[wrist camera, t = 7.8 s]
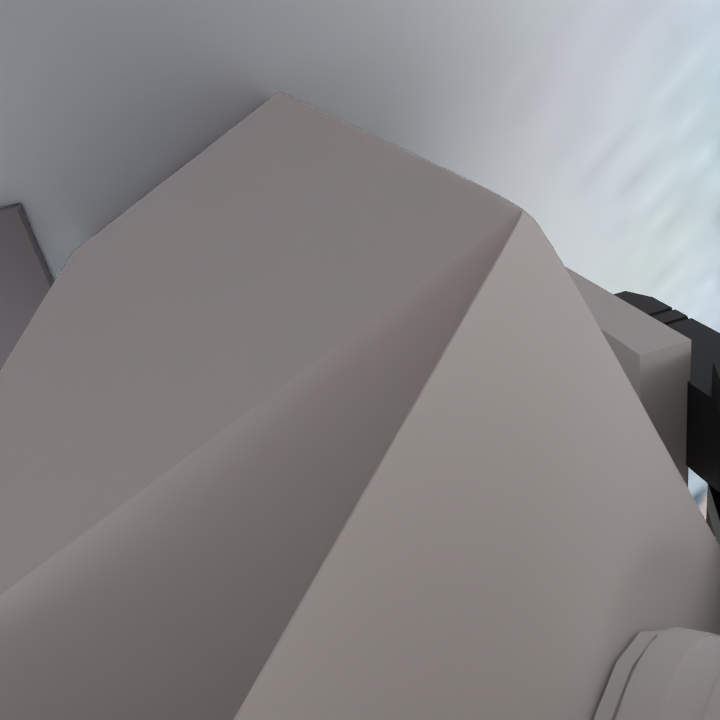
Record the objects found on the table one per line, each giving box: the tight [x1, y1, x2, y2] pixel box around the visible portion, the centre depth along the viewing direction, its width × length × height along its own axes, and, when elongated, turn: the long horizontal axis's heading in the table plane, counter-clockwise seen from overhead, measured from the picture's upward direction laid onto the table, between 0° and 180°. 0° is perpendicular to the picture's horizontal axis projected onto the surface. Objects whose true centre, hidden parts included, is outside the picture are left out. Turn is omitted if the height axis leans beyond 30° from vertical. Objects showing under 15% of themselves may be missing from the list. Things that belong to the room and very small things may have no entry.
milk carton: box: [0, 92, 720, 720], centre depth 11 cm, size 7×7×19 cm
